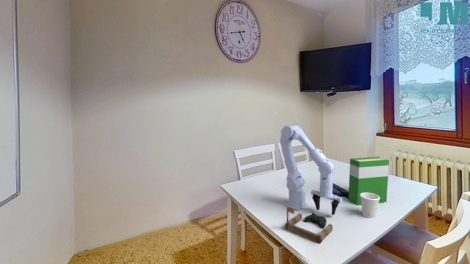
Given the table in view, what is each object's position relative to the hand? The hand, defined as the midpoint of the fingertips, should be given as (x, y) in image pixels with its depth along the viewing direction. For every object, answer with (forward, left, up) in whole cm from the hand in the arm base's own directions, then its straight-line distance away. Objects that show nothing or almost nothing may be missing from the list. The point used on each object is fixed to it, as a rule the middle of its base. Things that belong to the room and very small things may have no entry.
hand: (325, 211), depth 114 cm
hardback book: (-30, +11, -2) cm, 32 cm away
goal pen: (+18, 0, -1) cm, 18 cm away
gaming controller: (+10, 0, -2) cm, 10 cm away
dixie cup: (-13, +16, -2) cm, 21 cm away
